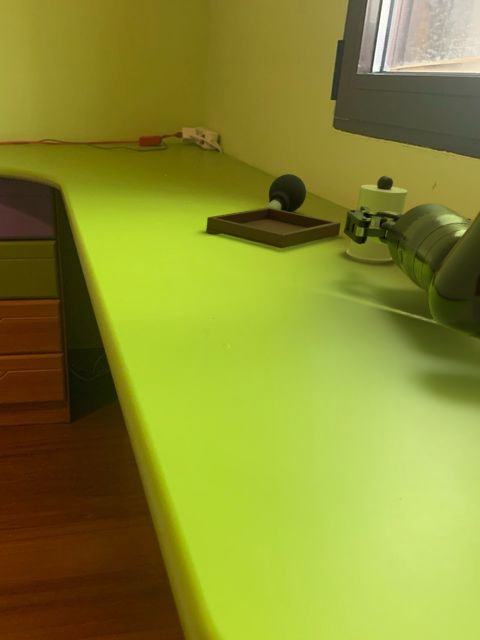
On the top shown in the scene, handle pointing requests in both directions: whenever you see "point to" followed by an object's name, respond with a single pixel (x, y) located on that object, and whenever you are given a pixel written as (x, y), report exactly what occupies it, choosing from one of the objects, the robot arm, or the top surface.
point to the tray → (273, 227)
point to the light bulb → (287, 193)
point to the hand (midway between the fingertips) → (396, 217)
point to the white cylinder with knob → (376, 200)
